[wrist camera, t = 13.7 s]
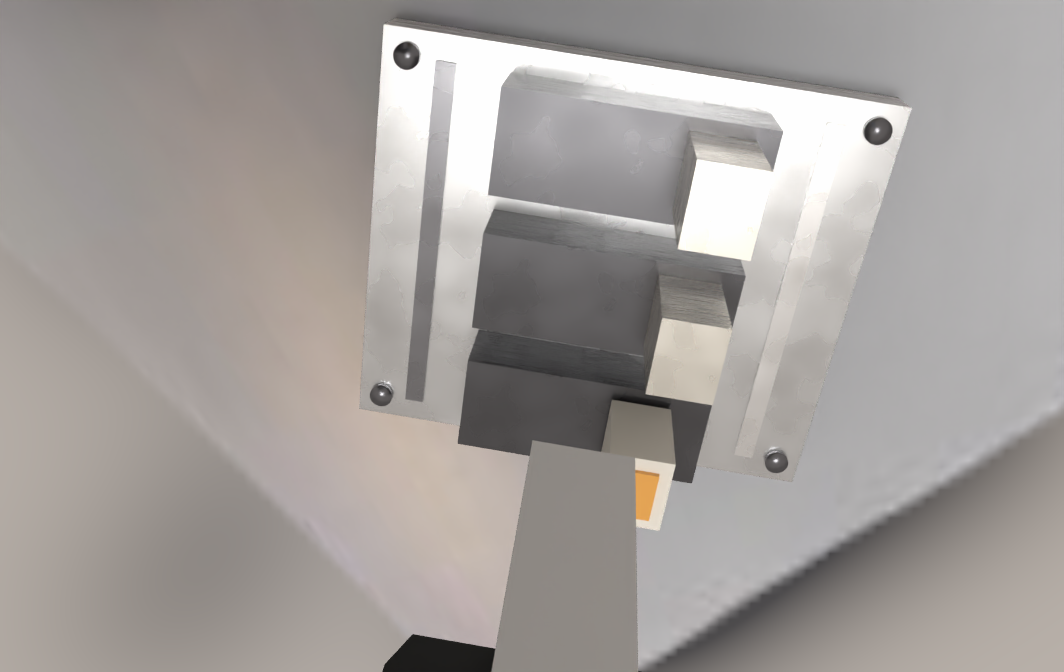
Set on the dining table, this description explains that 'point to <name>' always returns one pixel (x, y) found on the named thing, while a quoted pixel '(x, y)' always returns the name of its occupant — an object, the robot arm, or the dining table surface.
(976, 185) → the dining table surface
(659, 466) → the block with orange pad
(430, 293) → the panel
